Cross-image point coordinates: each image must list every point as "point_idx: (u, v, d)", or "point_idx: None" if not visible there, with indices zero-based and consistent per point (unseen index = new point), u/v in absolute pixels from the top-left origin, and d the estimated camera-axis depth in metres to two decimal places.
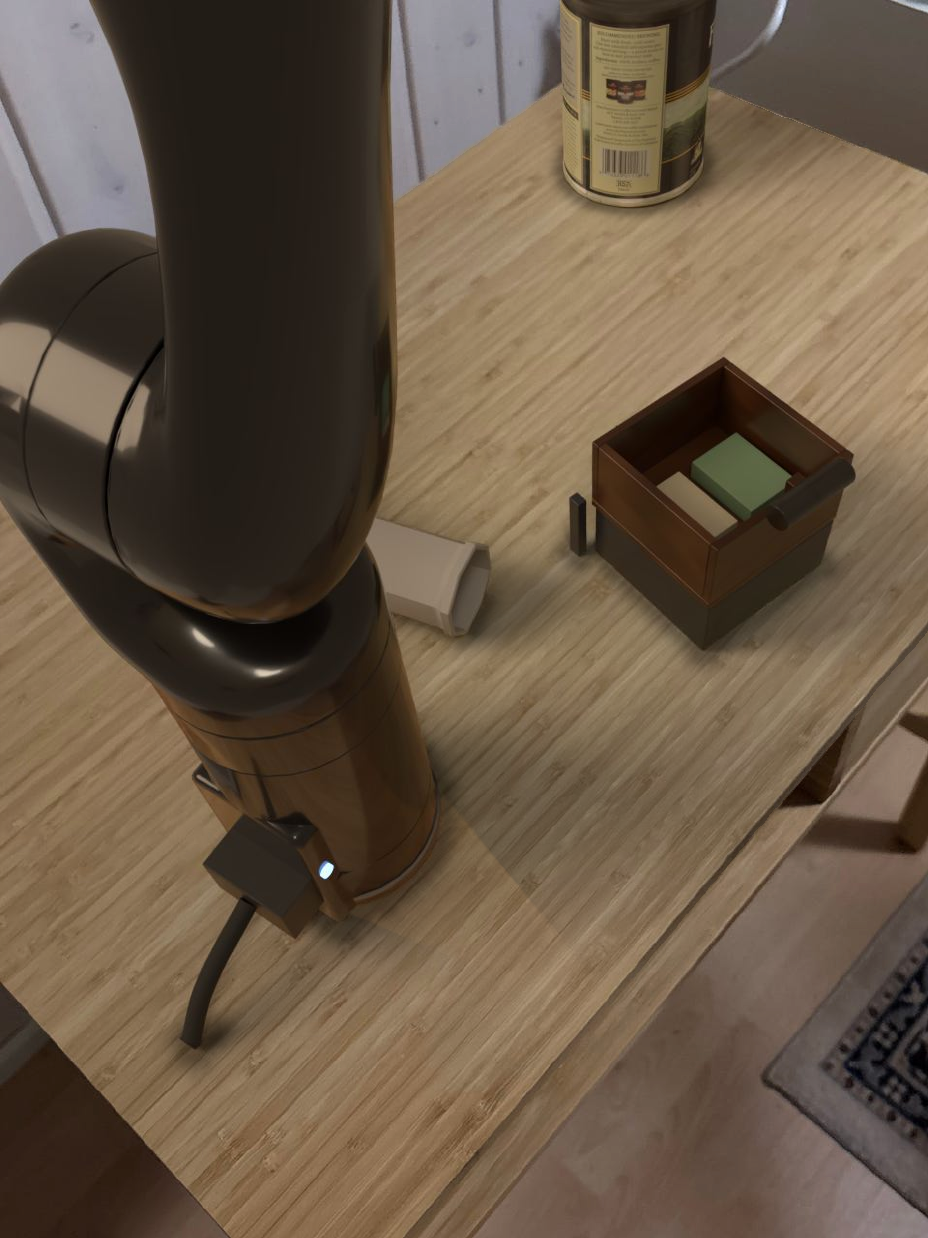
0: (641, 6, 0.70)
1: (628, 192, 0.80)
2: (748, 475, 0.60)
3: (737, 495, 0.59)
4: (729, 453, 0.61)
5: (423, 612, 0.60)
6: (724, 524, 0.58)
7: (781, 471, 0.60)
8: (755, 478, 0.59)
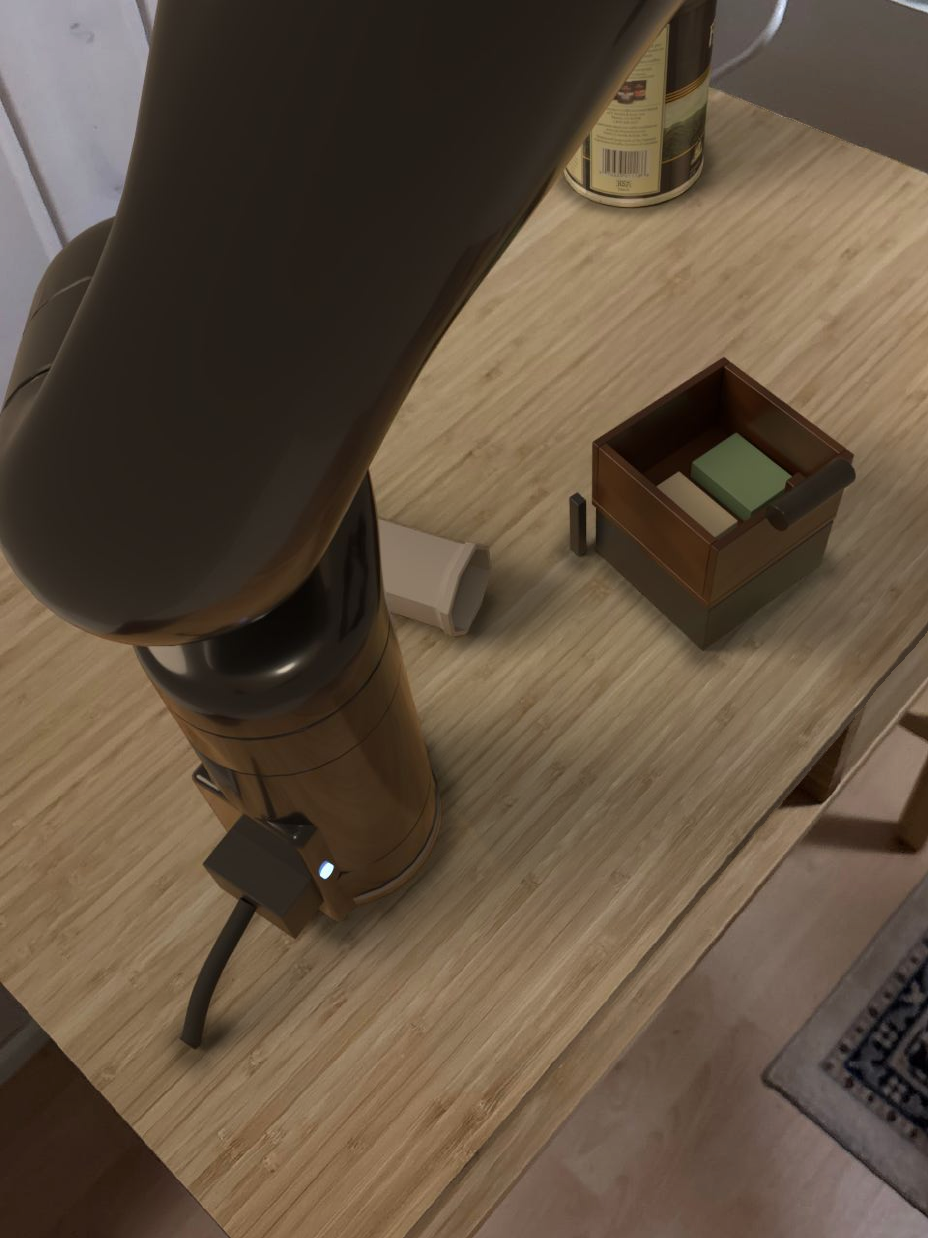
0: None
1: (628, 192, 0.80)
2: (748, 475, 0.60)
3: (737, 495, 0.59)
4: (730, 453, 0.61)
5: (423, 612, 0.60)
6: (724, 524, 0.58)
7: (781, 471, 0.60)
8: (755, 478, 0.59)
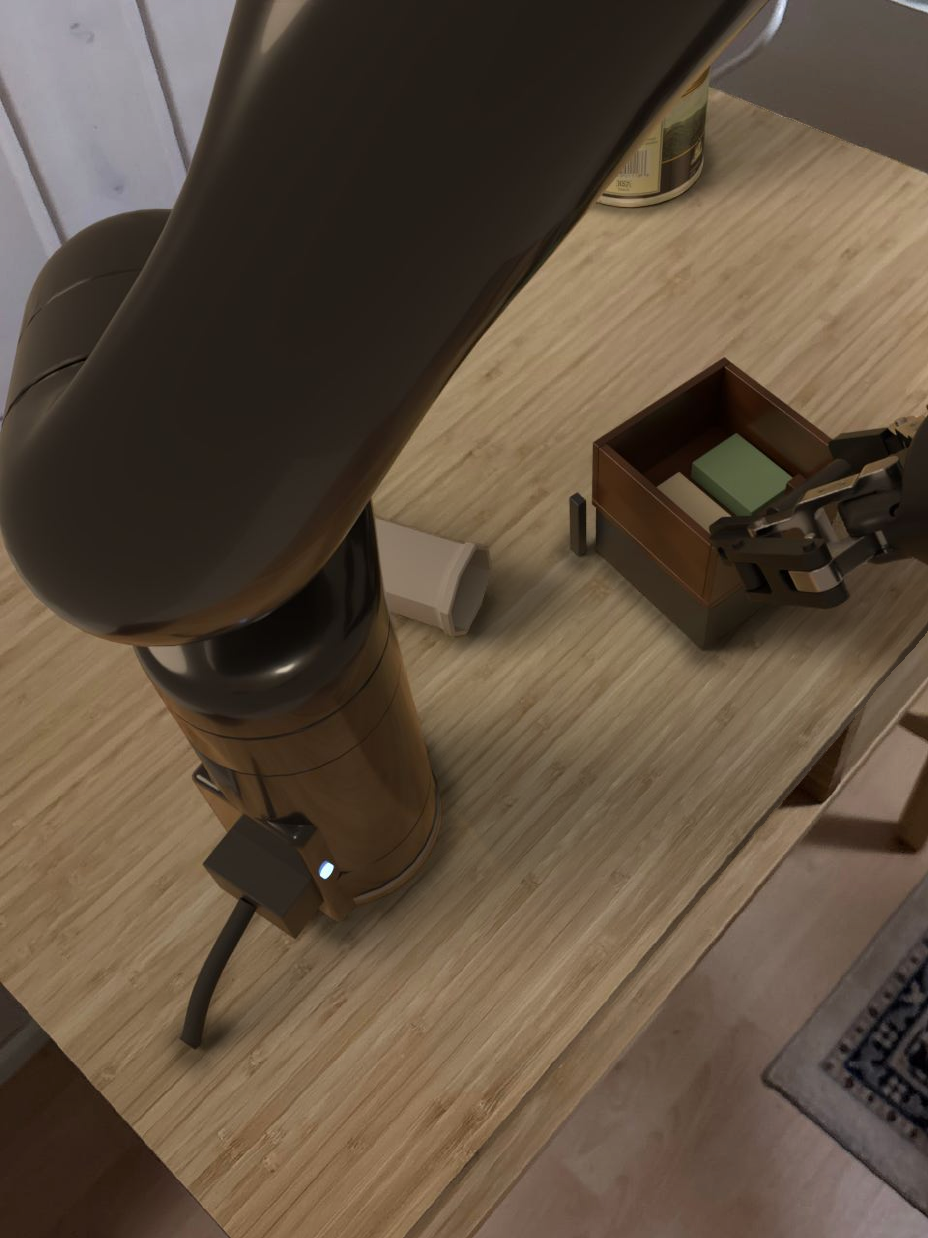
0: None
1: (628, 192, 0.80)
2: (748, 476, 0.60)
3: (737, 496, 0.59)
4: (730, 453, 0.61)
5: (423, 612, 0.60)
6: None
7: (781, 472, 0.60)
8: (755, 479, 0.59)
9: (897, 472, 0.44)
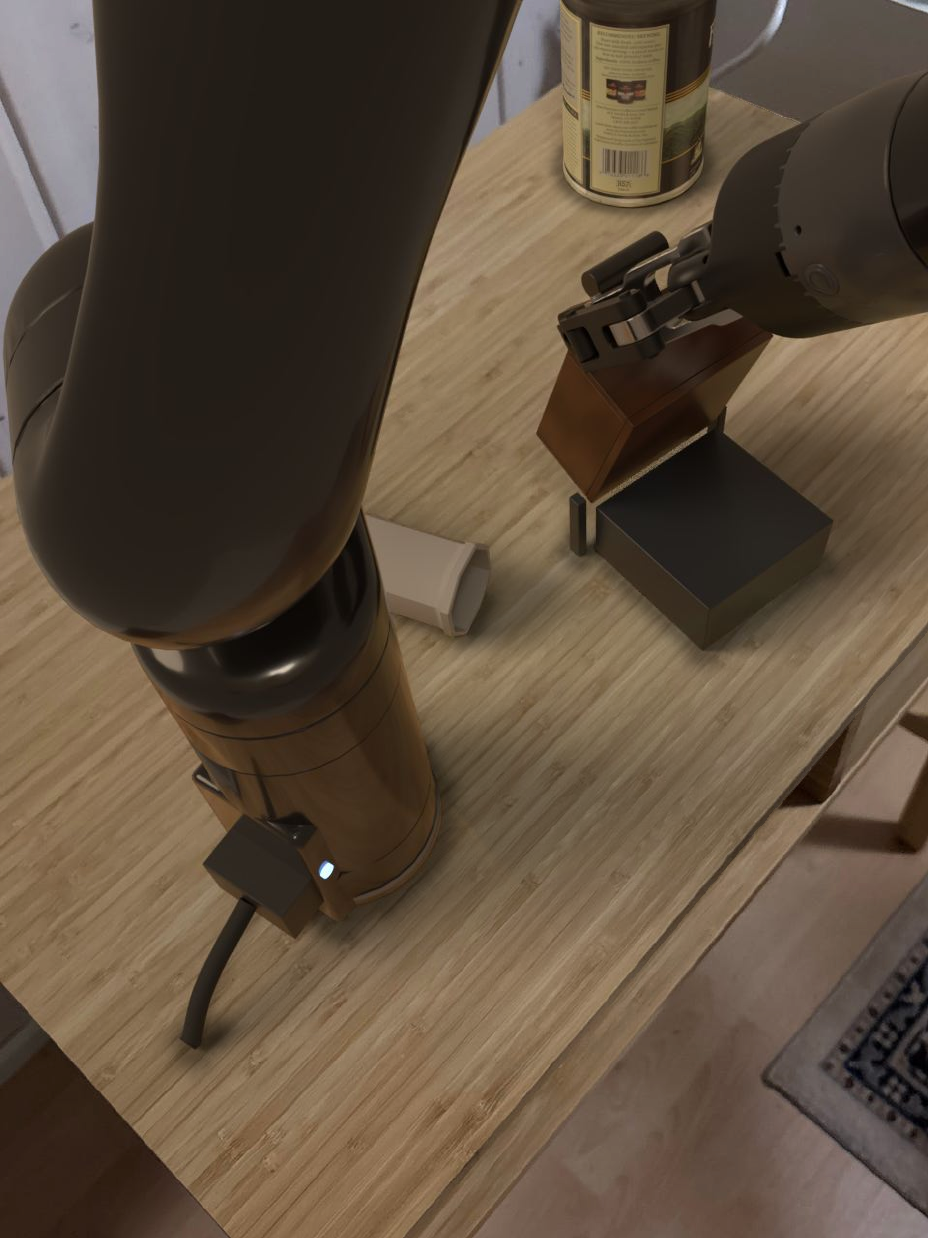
0: (641, 6, 0.70)
1: (628, 192, 0.80)
2: None
3: None
4: None
5: (423, 612, 0.60)
6: None
7: None
8: None
9: None
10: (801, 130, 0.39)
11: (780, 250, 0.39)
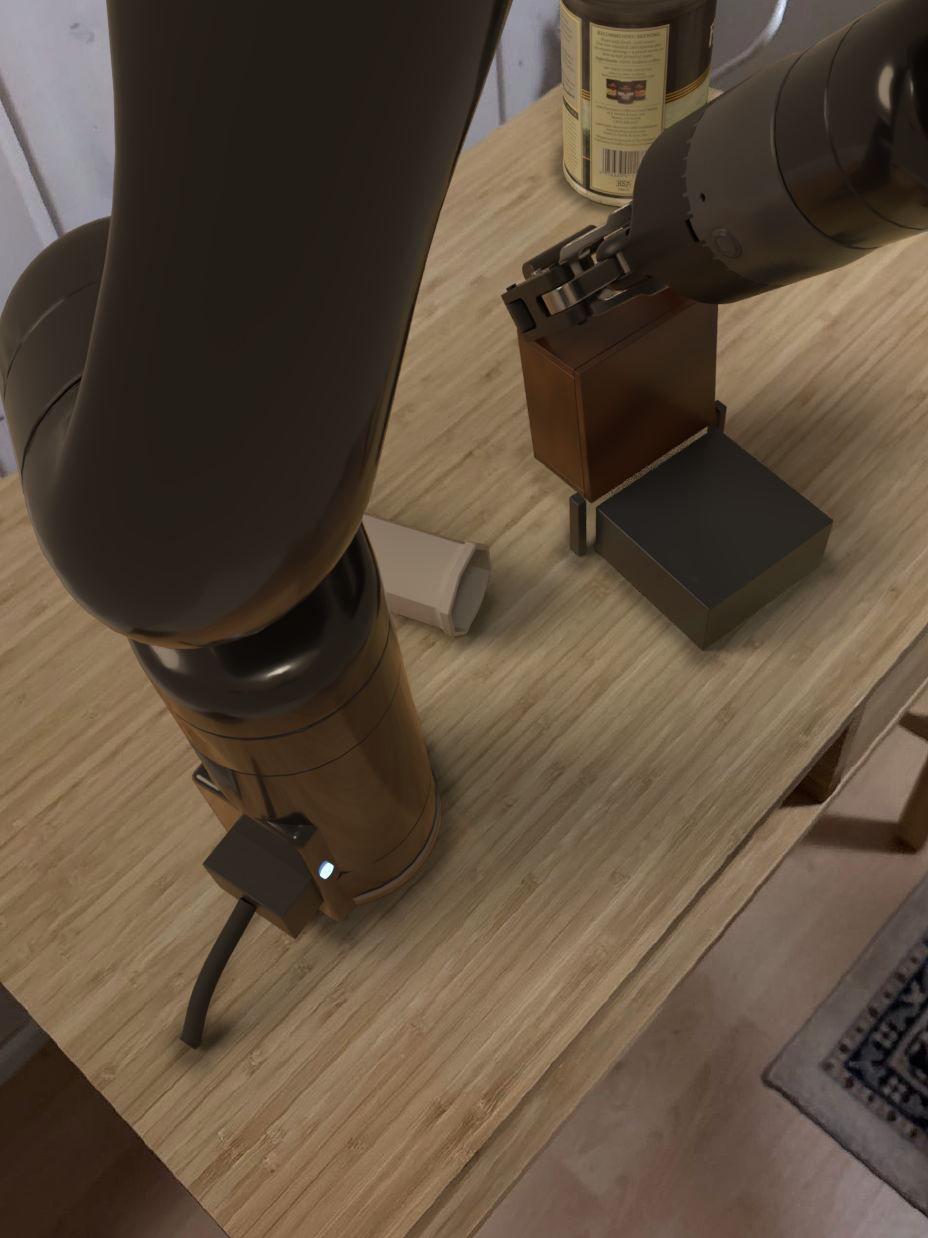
0: (641, 6, 0.70)
1: (628, 192, 0.80)
2: None
3: None
4: None
5: (423, 612, 0.60)
6: None
7: None
8: None
9: None
10: (706, 107, 0.42)
11: (689, 217, 0.42)
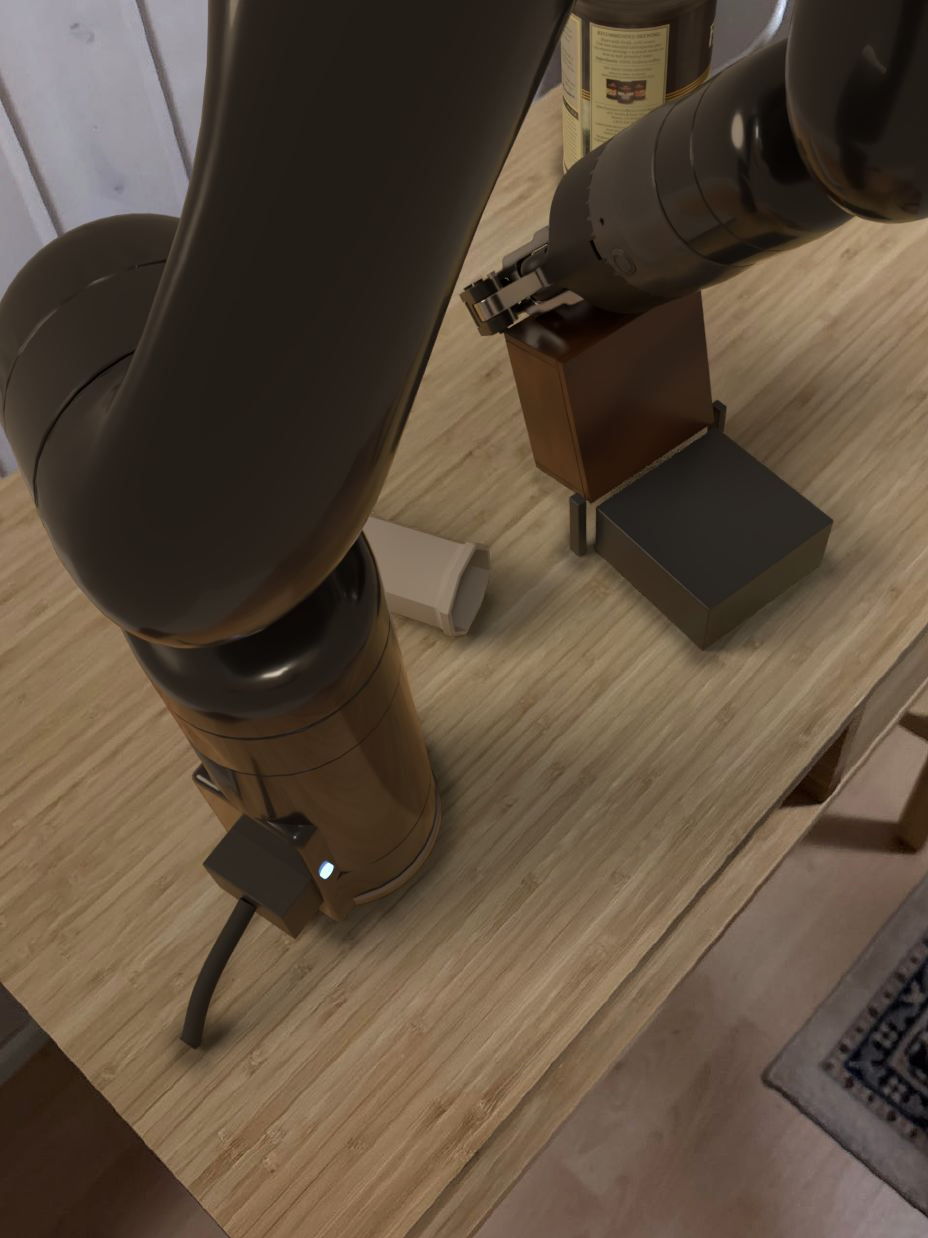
0: (641, 6, 0.70)
1: None
2: None
3: None
4: None
5: (423, 612, 0.60)
6: None
7: None
8: None
9: None
10: (607, 142, 0.49)
11: (592, 238, 0.49)
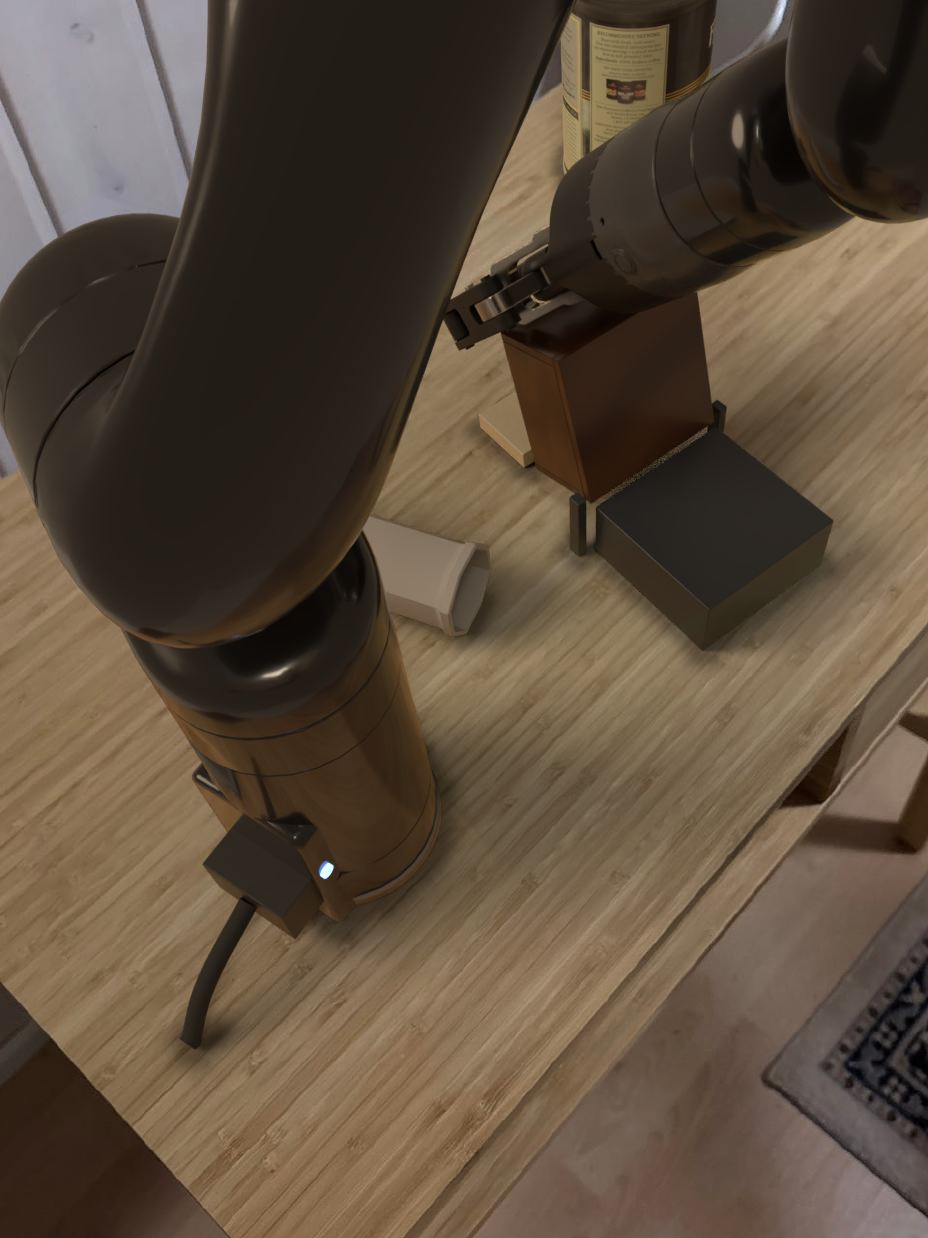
0: (641, 6, 0.70)
1: None
2: None
3: None
4: None
5: (423, 612, 0.60)
6: None
7: None
8: None
9: None
10: (608, 142, 0.48)
11: (593, 238, 0.49)
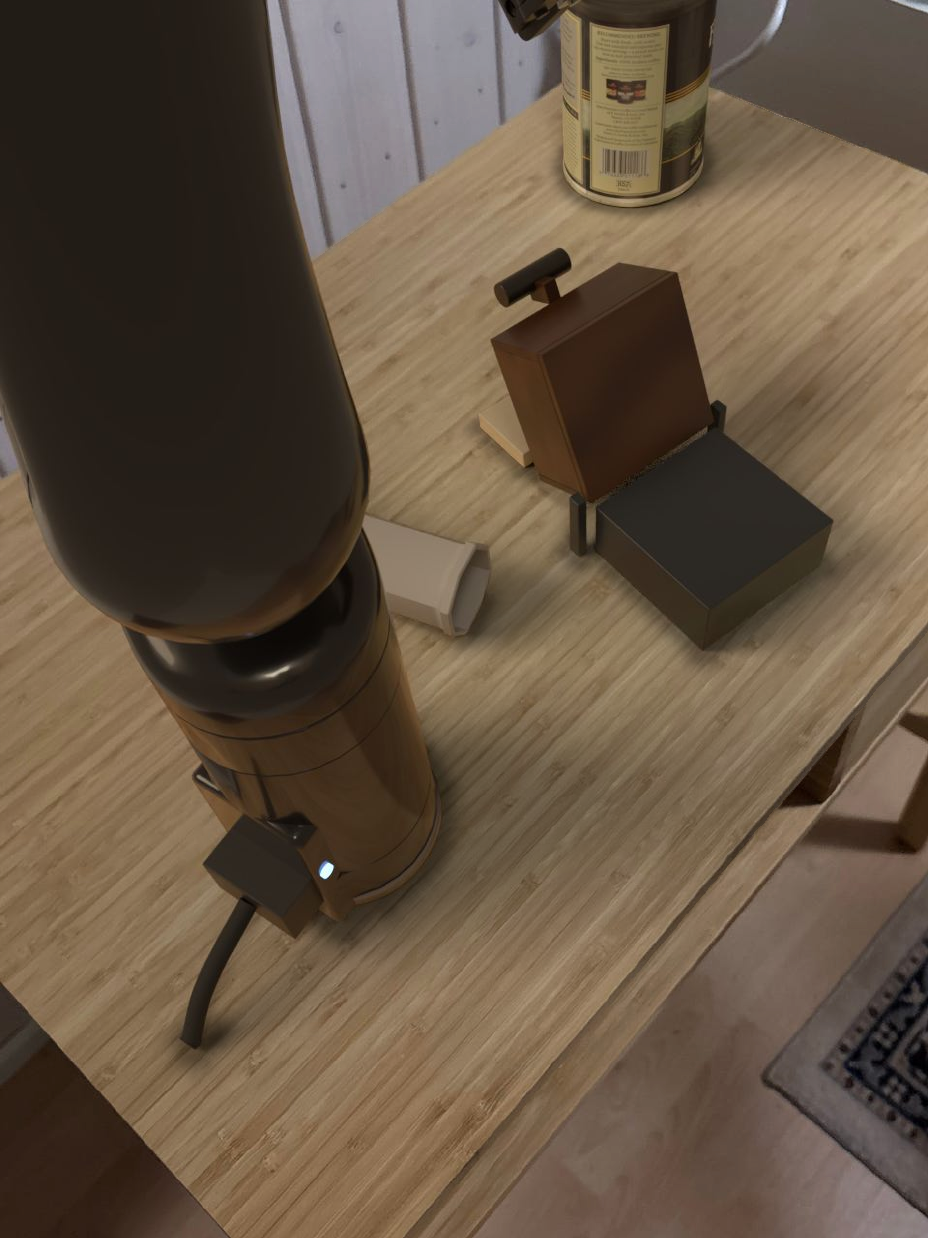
0: (641, 6, 0.70)
1: (628, 192, 0.80)
2: None
3: None
4: None
5: (423, 612, 0.60)
6: None
7: None
8: None
9: None
10: None
11: None
